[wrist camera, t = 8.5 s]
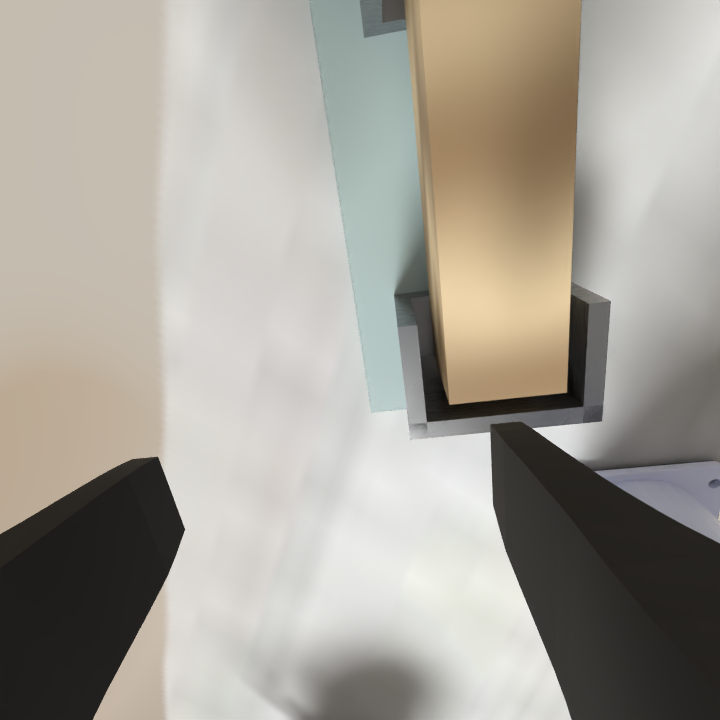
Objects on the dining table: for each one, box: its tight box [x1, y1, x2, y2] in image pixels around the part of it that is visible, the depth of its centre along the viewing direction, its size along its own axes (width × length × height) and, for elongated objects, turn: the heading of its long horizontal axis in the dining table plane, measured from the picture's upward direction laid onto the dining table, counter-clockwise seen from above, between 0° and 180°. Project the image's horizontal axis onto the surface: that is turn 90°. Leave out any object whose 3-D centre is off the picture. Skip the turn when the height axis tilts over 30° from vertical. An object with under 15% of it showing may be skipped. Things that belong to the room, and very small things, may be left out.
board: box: [309, 0, 429, 413], centre depth 15 cm, size 19×8×1 cm, turn 8°
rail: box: [404, 0, 581, 405], centre depth 12 cm, size 14×4×4 cm, turn 8°
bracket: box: [394, 282, 611, 440], centre depth 15 cm, size 4×6×4 cm, turn 98°
